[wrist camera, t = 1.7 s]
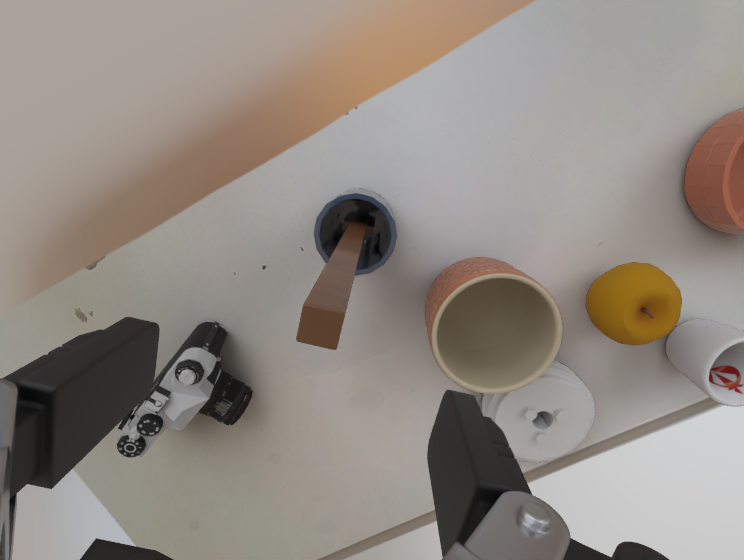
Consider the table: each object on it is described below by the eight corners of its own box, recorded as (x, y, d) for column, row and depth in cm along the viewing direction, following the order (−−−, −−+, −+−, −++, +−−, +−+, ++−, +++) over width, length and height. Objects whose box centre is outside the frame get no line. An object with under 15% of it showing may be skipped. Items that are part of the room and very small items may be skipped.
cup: (741, 292, 48) (809, 316, 41) (752, 351, 50) (819, 384, 43) (648, 324, 50) (698, 352, 42) (662, 380, 52) (712, 417, 44)
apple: (605, 239, 47) (655, 255, 39) (660, 281, 48) (720, 305, 40) (555, 298, 49) (592, 326, 41) (609, 337, 50) (656, 371, 42)
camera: (209, 430, 56) (189, 493, 47) (134, 392, 53) (96, 452, 43) (274, 355, 53) (265, 406, 44) (199, 309, 49) (172, 354, 40)
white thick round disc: (602, 388, 52) (624, 411, 47) (536, 459, 55) (551, 487, 50) (522, 336, 50) (537, 353, 46) (459, 411, 53) (467, 436, 48)
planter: (532, 252, 48) (575, 275, 37) (516, 351, 51) (552, 399, 40) (424, 246, 48) (436, 268, 37) (415, 345, 51) (424, 392, 40)
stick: (347, 212, 46) (282, 298, 15) (375, 218, 46) (365, 317, 16) (344, 226, 47) (274, 337, 16) (372, 232, 47) (356, 355, 16)
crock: (335, 181, 46) (323, 184, 36) (400, 197, 46) (405, 204, 37) (322, 245, 48) (307, 264, 38) (384, 260, 48) (385, 283, 39)
